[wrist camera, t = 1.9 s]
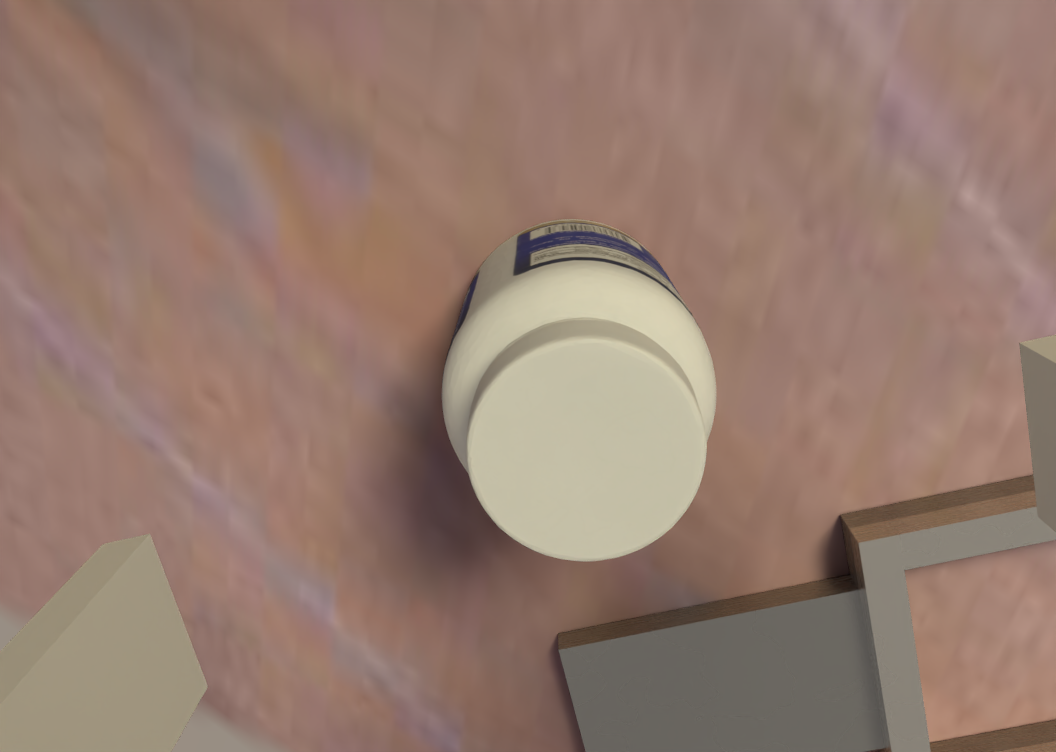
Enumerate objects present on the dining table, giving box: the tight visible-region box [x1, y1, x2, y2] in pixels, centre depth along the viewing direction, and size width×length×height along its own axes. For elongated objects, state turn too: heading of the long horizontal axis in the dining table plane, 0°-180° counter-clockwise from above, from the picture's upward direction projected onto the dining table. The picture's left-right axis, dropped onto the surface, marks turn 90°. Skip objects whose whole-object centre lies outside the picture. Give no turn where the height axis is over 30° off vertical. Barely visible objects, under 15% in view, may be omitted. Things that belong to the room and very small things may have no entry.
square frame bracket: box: [558, 475, 1056, 752], centre depth 26 cm, size 25×9×2 cm, turn 104°
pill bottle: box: [442, 219, 716, 561], centre depth 20 cm, size 5×5×9 cm
